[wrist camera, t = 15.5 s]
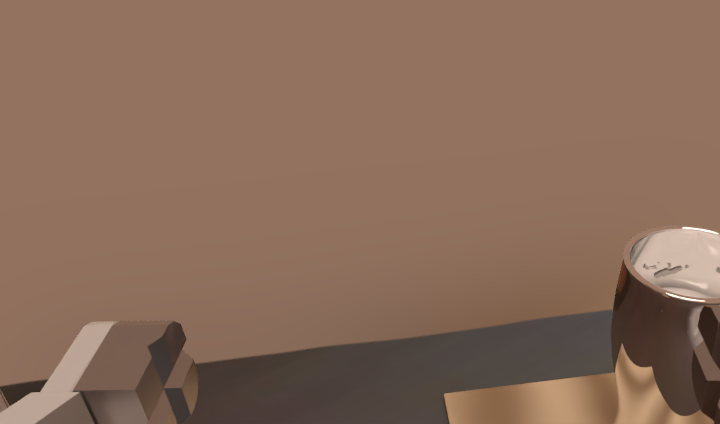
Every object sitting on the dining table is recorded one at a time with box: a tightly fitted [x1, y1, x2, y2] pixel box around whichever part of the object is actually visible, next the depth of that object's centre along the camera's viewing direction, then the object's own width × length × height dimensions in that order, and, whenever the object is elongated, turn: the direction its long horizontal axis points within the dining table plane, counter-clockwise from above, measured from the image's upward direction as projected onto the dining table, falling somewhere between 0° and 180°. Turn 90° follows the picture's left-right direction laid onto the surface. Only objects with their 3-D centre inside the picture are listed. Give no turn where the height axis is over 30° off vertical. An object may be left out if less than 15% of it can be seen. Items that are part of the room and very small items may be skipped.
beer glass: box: [611, 225, 720, 424], centre depth 38 cm, size 7×7×15 cm
